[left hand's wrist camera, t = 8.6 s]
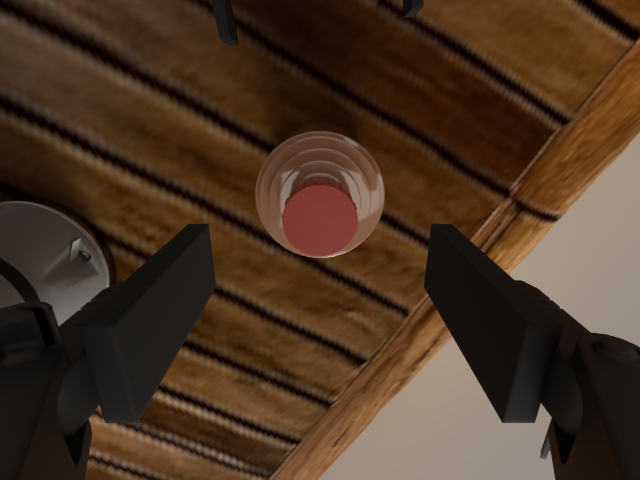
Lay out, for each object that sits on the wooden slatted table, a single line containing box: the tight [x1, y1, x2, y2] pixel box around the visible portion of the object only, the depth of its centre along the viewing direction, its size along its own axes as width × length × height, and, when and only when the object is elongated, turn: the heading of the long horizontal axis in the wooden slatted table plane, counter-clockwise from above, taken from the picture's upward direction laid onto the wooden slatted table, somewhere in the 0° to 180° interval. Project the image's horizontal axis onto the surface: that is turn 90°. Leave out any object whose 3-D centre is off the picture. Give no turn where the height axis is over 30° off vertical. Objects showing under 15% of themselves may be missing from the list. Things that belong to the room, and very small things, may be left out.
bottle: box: [255, 122, 385, 258], centre depth 27 cm, size 8×8×18 cm
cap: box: [282, 177, 358, 256], centre depth 19 cm, size 4×4×2 cm
